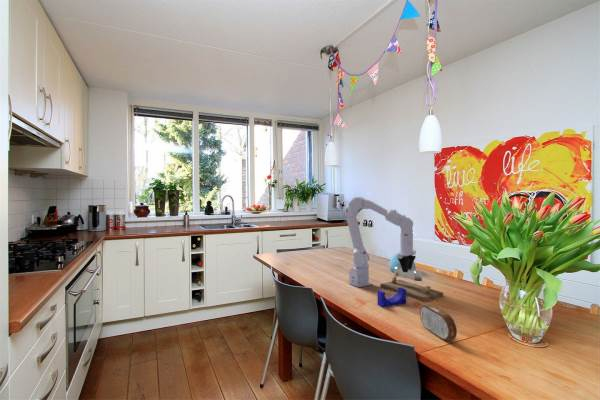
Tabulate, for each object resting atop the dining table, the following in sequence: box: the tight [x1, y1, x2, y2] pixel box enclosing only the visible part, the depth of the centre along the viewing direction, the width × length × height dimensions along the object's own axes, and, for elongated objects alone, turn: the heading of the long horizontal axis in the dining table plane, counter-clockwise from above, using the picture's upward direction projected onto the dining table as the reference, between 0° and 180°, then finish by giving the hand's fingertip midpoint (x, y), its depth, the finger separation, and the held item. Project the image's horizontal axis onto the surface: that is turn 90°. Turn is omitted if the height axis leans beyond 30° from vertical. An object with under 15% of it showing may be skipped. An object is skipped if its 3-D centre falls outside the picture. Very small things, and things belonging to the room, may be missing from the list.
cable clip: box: [376, 288, 407, 308], centre depth 126 cm, size 12×4×6 cm, turn 110°
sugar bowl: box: [388, 253, 417, 273], centre depth 179 cm, size 15×15×12 cm
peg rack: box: [379, 275, 444, 303], centre depth 141 cm, size 14×24×4 cm, turn 32°
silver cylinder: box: [394, 266, 423, 282], centre depth 144 cm, size 14×4×4 cm, turn 43°
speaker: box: [419, 303, 458, 341], centre depth 98 cm, size 15×3×8 cm, turn 13°
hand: (406, 271), depth 145 cm, fingers closed on silver cylinder, 3 cm apart
